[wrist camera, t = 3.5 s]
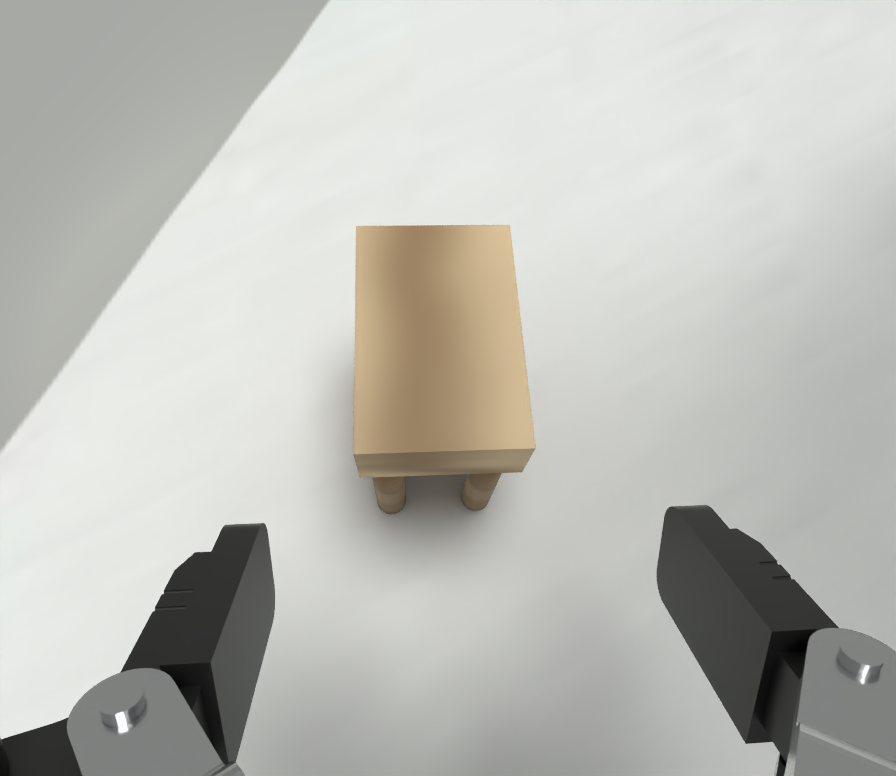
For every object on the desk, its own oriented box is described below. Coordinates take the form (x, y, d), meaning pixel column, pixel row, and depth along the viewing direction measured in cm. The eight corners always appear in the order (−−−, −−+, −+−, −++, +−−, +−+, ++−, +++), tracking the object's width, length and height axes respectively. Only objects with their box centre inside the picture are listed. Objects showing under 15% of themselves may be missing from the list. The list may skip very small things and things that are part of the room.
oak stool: (481, 352, 30) (509, 225, 21) (495, 519, 26) (535, 448, 18) (372, 354, 29) (356, 226, 21) (372, 524, 26) (353, 454, 18)
